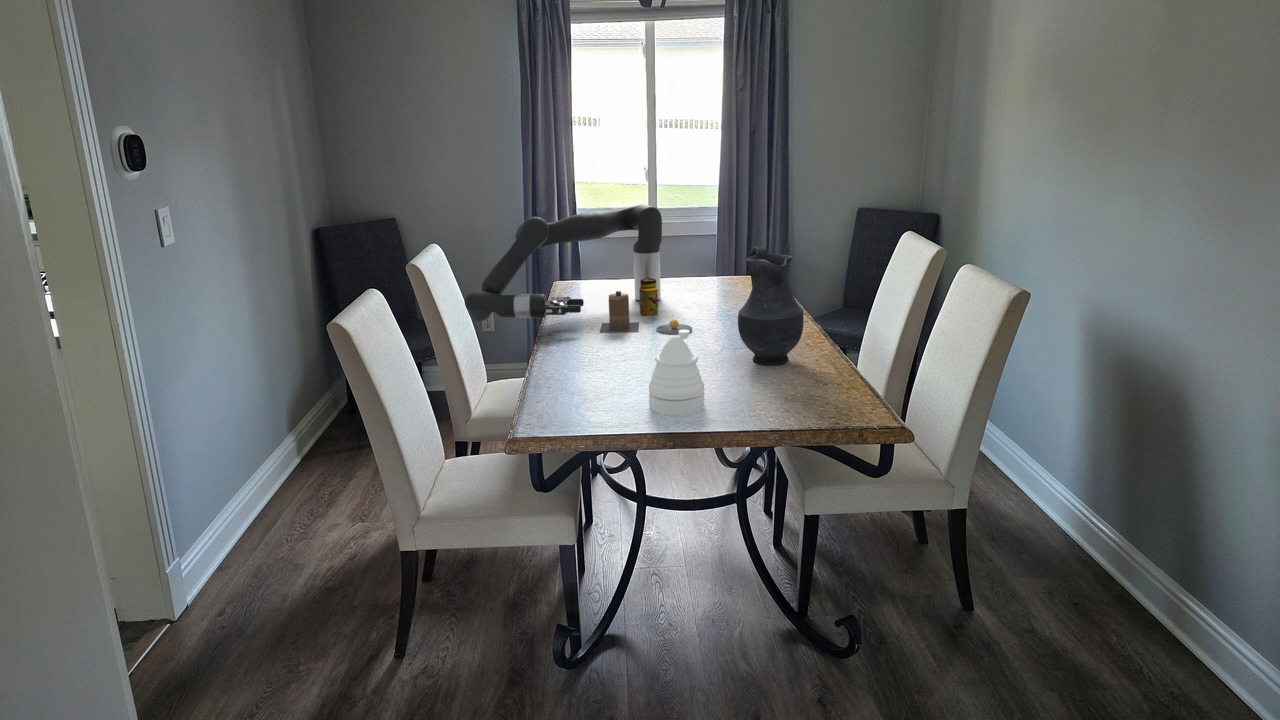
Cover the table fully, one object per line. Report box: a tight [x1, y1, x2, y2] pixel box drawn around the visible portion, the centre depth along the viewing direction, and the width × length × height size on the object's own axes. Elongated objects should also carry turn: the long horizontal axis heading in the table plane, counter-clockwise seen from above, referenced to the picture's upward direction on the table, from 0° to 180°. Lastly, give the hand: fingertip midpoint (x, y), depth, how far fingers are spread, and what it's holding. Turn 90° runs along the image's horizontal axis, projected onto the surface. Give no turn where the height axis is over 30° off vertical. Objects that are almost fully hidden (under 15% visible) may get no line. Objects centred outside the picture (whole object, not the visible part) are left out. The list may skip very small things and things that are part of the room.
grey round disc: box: [655, 323, 693, 336], centre depth 260 cm, size 11×11×1 cm
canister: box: [608, 290, 630, 330], centre depth 263 cm, size 6×6×12 cm
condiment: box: [639, 278, 659, 317], centre depth 279 cm, size 7×8×12 cm
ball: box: [668, 319, 680, 329], centre depth 260 cm, size 3×3×3 cm
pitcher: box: [737, 245, 805, 367], centre depth 225 cm, size 17×21×30 cm
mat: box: [598, 321, 640, 334], centre depth 265 cm, size 12×12×1 cm
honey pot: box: [648, 330, 705, 416], centre depth 195 cm, size 13×13×18 cm
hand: (582, 305), depth 263 cm, fingers open, 8 cm apart
